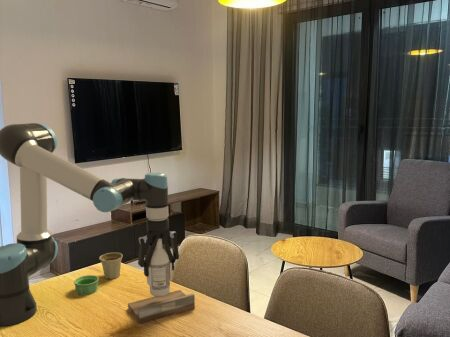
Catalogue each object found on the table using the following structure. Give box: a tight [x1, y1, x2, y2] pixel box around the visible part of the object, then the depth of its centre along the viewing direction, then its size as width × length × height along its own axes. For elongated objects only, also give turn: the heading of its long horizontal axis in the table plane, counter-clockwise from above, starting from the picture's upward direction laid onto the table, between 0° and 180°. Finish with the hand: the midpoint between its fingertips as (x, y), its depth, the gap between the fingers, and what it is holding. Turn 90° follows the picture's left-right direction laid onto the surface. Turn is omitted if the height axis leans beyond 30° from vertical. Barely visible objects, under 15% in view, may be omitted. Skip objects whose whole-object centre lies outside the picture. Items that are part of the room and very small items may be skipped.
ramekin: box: [73, 274, 100, 296], centre depth 153 cm, size 9×9×4 cm
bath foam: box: [149, 238, 171, 297], centre depth 137 cm, size 7×7×20 cm
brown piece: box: [127, 289, 196, 325], centre depth 138 cm, size 12×20×5 cm, turn 121°
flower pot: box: [98, 252, 123, 280], centre depth 166 cm, size 9×9×9 cm
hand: (159, 281), depth 138 cm, fingers closed on bath foam, 7 cm apart
